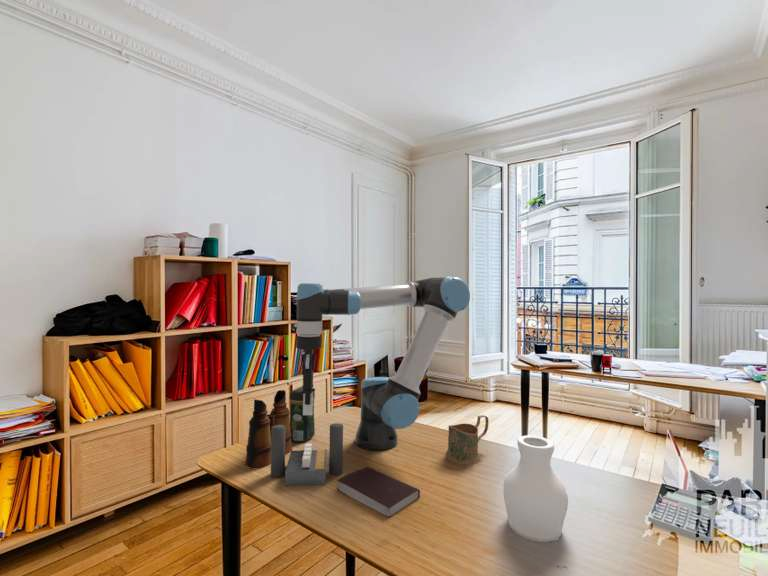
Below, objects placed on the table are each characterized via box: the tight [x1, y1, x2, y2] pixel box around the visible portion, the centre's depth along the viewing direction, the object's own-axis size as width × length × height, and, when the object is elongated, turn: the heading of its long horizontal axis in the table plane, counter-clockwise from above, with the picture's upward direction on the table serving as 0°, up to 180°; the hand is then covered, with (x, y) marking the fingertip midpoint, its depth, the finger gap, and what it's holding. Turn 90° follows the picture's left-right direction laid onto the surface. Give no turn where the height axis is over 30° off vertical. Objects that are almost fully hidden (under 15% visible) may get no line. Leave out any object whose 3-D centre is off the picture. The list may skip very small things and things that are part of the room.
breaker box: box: [284, 449, 328, 487], centre depth 117 cm, size 11×14×4 cm
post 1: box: [270, 425, 286, 479], centre depth 116 cm, size 4×4×14 cm
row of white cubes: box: [302, 443, 313, 468], centre depth 117 cm, size 2×11×2 cm, turn 7°
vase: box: [503, 434, 569, 543], centre depth 92 cm, size 14×14×20 cm
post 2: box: [328, 422, 344, 476], centre depth 118 cm, size 4×4×14 cm
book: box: [336, 466, 421, 518], centre depth 106 cm, size 12×19×3 cm, turn 48°
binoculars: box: [244, 389, 293, 469], centre depth 128 cm, size 18×8×20 cm, turn 156°
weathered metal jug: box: [444, 415, 489, 465], centre depth 132 cm, size 12×18×12 cm, turn 124°
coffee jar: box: [289, 385, 316, 443], centre depth 144 cm, size 10×8×19 cm
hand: (307, 414), depth 117 cm, fingers closed
